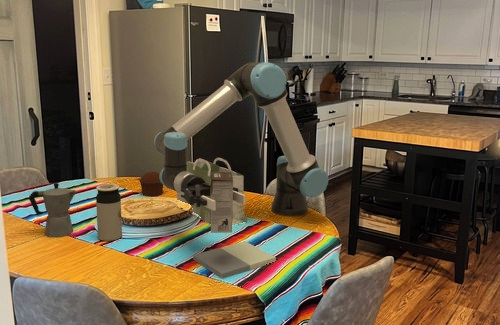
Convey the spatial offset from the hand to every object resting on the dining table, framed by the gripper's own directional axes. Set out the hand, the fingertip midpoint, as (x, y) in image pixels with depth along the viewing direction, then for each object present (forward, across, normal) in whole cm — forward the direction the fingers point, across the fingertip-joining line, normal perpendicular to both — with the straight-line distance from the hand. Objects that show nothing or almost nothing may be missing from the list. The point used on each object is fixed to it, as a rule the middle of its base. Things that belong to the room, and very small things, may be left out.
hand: (229, 202), depth 138 cm
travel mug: (-44, +19, -21) cm, 53 cm away
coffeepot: (-58, +33, -21) cm, 70 cm away
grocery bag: (-45, -23, -21) cm, 55 cm away
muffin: (-84, -17, -21) cm, 89 cm away
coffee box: (-4, 0, -9) cm, 10 cm away
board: (-4, -5, -21) cm, 22 cm away
